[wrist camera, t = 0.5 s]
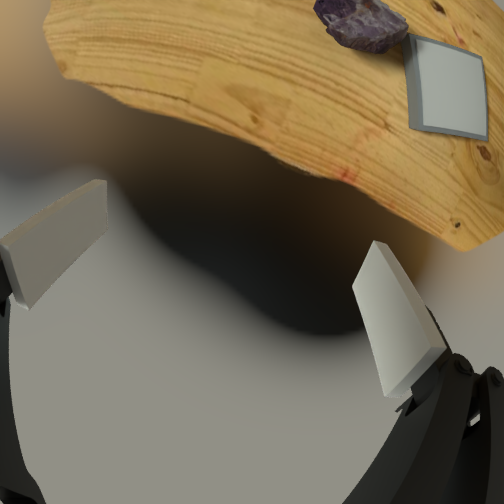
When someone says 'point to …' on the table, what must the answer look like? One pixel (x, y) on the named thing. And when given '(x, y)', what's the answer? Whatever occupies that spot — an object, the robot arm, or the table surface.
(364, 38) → the rock
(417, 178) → the table surface
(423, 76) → the grey flat square block
